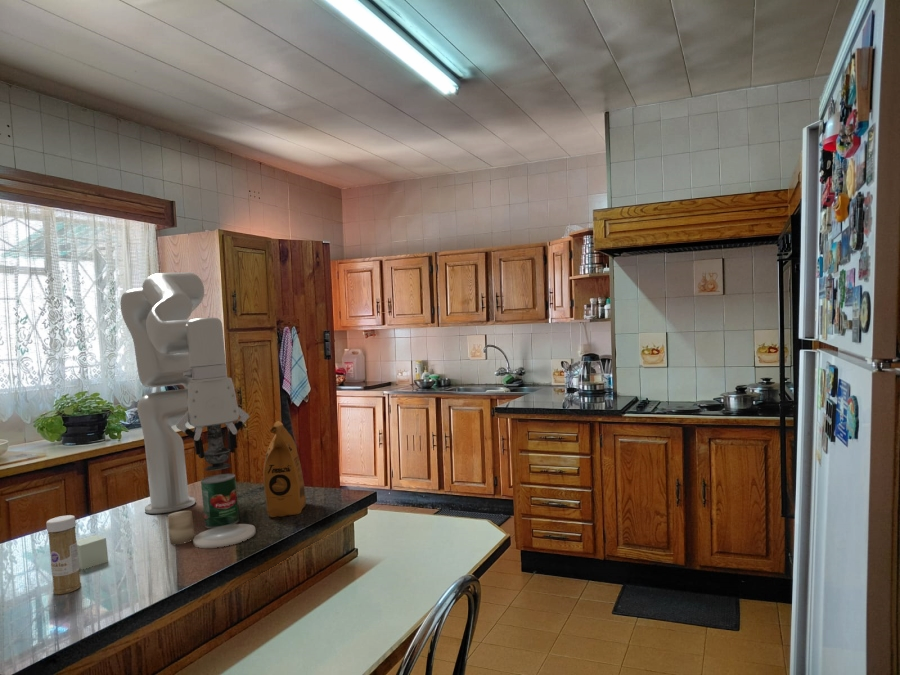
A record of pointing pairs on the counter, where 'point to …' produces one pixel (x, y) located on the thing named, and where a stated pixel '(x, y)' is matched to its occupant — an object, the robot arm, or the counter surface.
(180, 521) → the beige rounded cylinder
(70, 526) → the sprinkles bottle
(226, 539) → the plate
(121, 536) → the counter surface
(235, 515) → the canned tomato
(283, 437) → the coffee package
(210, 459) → the dark grey chess piece
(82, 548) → the sage block
